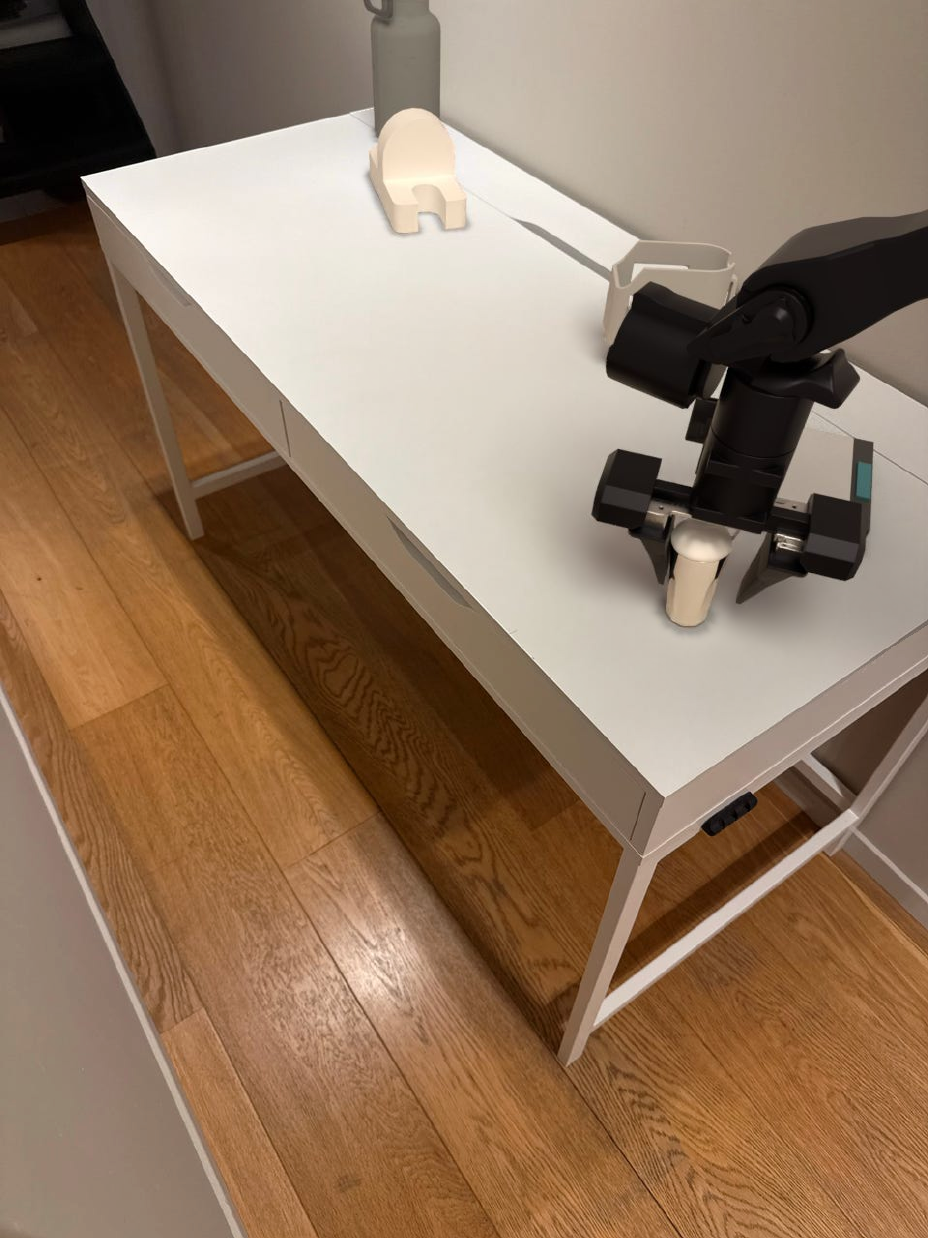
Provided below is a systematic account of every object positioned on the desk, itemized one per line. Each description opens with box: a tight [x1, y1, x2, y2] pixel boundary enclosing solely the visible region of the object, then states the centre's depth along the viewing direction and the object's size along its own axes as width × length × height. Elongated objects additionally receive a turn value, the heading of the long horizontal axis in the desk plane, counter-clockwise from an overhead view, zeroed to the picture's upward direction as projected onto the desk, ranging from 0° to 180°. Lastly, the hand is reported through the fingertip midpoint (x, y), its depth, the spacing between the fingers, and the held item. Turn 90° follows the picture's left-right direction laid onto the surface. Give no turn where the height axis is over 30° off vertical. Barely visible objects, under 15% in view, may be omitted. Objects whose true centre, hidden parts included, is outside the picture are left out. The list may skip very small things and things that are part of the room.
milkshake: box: [665, 518, 742, 627], centre depth 68 cm, size 4×5×10 cm
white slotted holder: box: [368, 108, 468, 234], centre depth 116 cm, size 10×18×11 cm, turn 15°
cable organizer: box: [602, 239, 739, 347], centre depth 91 cm, size 7×12×12 cm, turn 88°
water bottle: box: [363, 0, 442, 137], centre depth 123 cm, size 10×10×28 cm
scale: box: [775, 426, 875, 538], centre depth 81 cm, size 10×13×3 cm
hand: (700, 590), depth 70 cm, fingers closed on milkshake, 6 cm apart
